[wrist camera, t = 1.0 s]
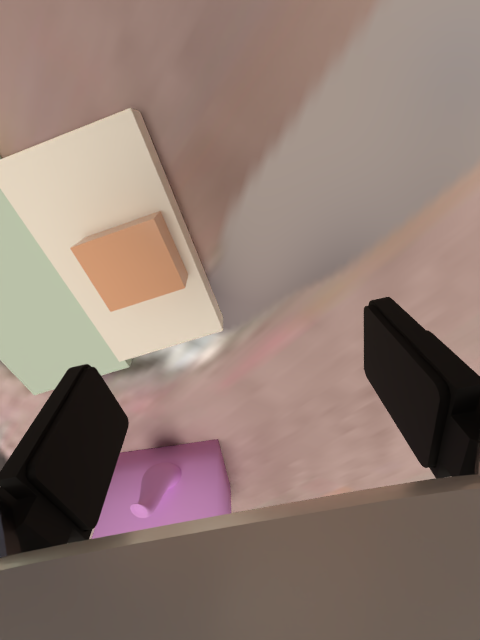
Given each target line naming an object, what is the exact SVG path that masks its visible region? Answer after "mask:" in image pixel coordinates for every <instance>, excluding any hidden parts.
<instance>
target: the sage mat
mask: <svg viewBox="0 0 480 640" xmlns="http://www.w3.org/2000/svg"><path fill="white" fill-rule="evenodd" d="M0 159H2V158H1V157H0ZM0 360H1V361H2V362H3V363H4V364H5V365H6V367H7V368H8V369H9V370H10V371H11V372H12V373H13V374H14V375H15V376H16V377H17V378H18V379H19V380H20V381H21V382H22V383H23V384H24V385H25V386H26V387H27V388H28V389H29V390H30V392H31V393H32V394H33V395H37V394H40V393H44V392H47V391H50V390H54V389H55V388H56V387H57V385H58V384H59V382H60V381H61V379H62V377H63V376H64V374H65V373H66V371H67V370H68V369H69V368H71V367H75V366H79V365H84V364H89V365H90V366H91V367H95V368H96V369H97V370H98V372H99V374H100V375H104V374H107V373H111V372H114V371H118V370H121V369H124V368H128V367H130V364H131V362H132V358H131V359H127V360H124V361H121V362H119V361H118V359H117V358H116V356H115V355H114V353H113V352H112V350H111V349H110V348H109V346H108V345H107V343H106V342H105V340H104V339H103V337H102V336H101V334H100V333H99V332H98V330H97V329H96V327H95V326H94V324H93V323H92V321H91V320H90V318H89V317H88V316H87V314H86V313H85V311H84V310H83V308H82V307H81V305H80V304H79V302H78V301H77V300H76V298H75V297H74V295H73V294H72V292H71V291H70V289H69V288H68V286H67V285H66V284H65V282H64V281H63V279H62V278H61V276H60V275H59V273H58V272H57V270H56V269H55V267H54V266H53V265H52V263H51V262H50V260H49V259H48V257H47V256H46V254H45V253H44V251H43V250H42V249H41V247H40V246H39V244H38V243H37V241H36V240H35V238H34V237H33V235H32V234H31V233H30V231H29V230H28V228H27V227H26V225H25V224H24V222H23V221H22V219H21V218H20V217H19V215H18V214H17V212H16V211H15V209H14V208H13V206H12V205H11V203H10V202H9V201H8V199H7V198H6V196H5V195H4V193H3V192H2V190H1V189H0Z"/></svg>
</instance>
